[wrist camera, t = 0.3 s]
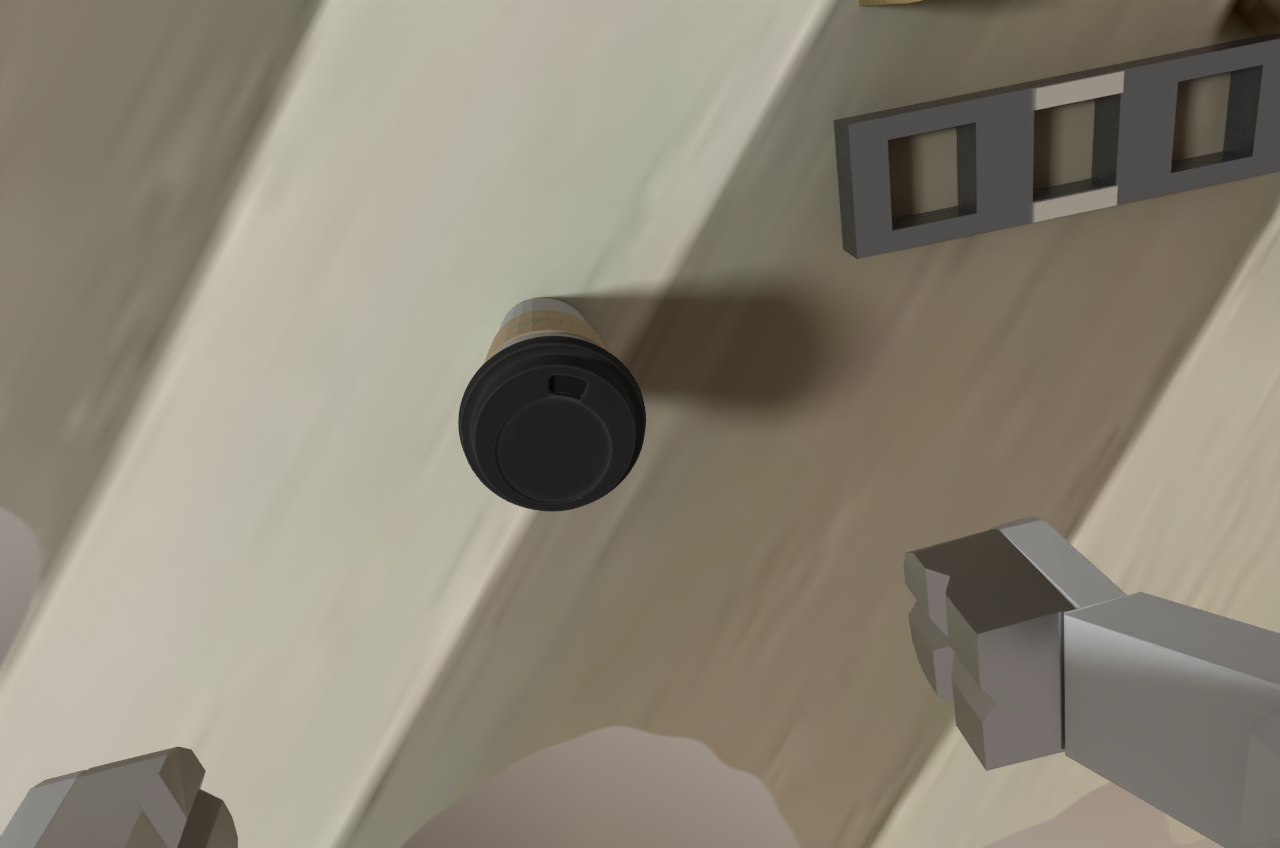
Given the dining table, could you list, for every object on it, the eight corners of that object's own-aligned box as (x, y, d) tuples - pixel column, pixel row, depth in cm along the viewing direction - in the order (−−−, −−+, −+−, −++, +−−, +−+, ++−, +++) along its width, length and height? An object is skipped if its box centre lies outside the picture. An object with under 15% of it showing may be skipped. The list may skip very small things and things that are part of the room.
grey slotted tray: (833, 120, 54) (849, 124, 51) (1269, 34, 55) (1305, 34, 53) (843, 249, 57) (858, 259, 55) (1254, 164, 59) (1286, 170, 56)
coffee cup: (595, 252, 55) (625, 325, 41) (632, 388, 59) (670, 496, 45) (447, 293, 55) (428, 380, 41) (494, 427, 59) (491, 547, 45)
